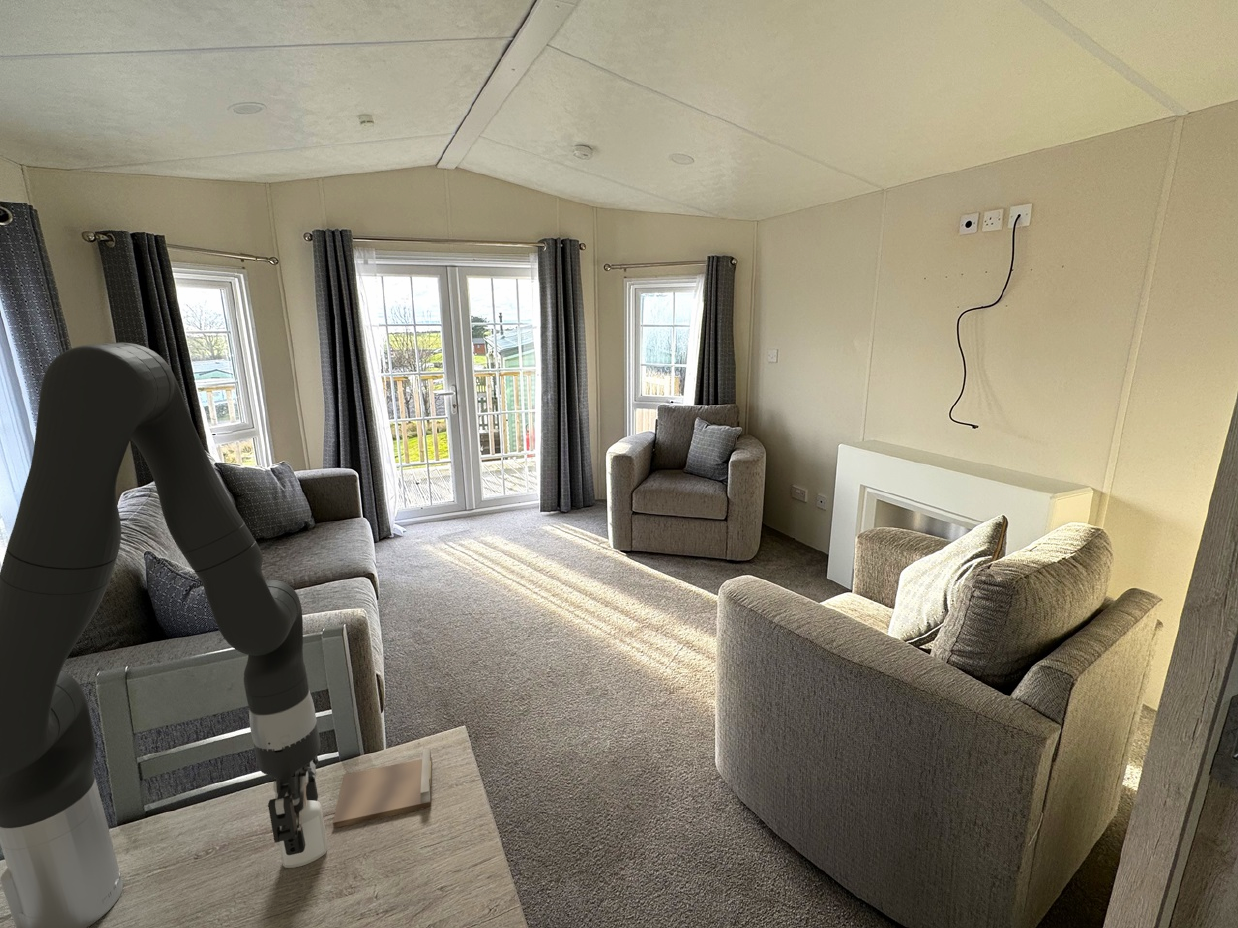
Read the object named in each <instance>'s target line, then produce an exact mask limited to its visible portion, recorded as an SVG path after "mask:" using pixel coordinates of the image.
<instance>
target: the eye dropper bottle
mask: <svg viewBox="0 0 1238 928" xmlns="http://www.w3.org/2000/svg"><path fill="white" fill-rule="evenodd" d="M293 801H294V805H297V804H298V803H299V798H298V799H295V800H293ZM323 815H324V814H323V809H322V805H321V802H320V801H319V800H317V801H314V800H307V798H306V807H305V808H304V809H303V810H302V829H303V834H304V840H305V849H304V851H303V852H302V853H298V854H293V855H287V854H286V850H285V845H284V841H280V842H278V845H279V846H278V847H279V851H280V856H281V861H282V865H283V867H284V868H286V869H293V868H300V867H302V866H305V865H308V864H311V863H313V862H315V861H316V860H318V859H320V858H321V857H323V856H324V855H325V854H326V853H327V850H328V840H327V834H326V827H325V822H324V816H323Z"/></svg>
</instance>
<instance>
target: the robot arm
mask: <svg viewBox="0 0 1238 928" xmlns="http://www.w3.org/2000/svg"><path fill="white" fill-rule="evenodd" d="M46 369H47V370H46V371H45V373H44V375H43V379H42V382H41V387H40V393H39V402H38V408H37V409H38V411H37V420H36V428H35V437H34V444H33V445H34V447H33V452H32V458H31V463H30V469H29V472H28V475H27V479H26V482H25V484H24V487H23V492H22V494H21V498H20V503H19V507H18V510H17V514H16V518H15V521H14V524H13V527H12V531H11V533H10V536H9V539H8V542H7V546H6V550H5V553H4V558H3V561H2V564H1V568H0V847H1V848H0V849H1V851H2V854H3V857H4V861H5V864H6V867H7V868H6V869H5V870H4V872H3V873H2V874H1V876H0V884H1V886H2V890H3V893H4V896H5V899H6V902H7V905H8V908H9V912H10V915H11V917H12V921H13V924H14V927H15V928H89V927H90V926H92V925H93V924H94V923H95V922H97V921H98V920H100V919H101V918H102V917H104V916H105V915H106V914H107V913H108V912H109V910H110V909H111V908H112V907H113V906H114V905H115V904H116V903H117V901H118V900H119V898H120V896H121V895H122V891H123V887H124V883H123V879H122V876H121V875H122V873H121V870H120V867H119V863H118V860H117V855H116V852H115V848H114V844H113V840H112V837H111V833H110V828H109V824H108V821H107V816H106V814H105V810H104V806H103V802H102V799H101V795H100V791H99V788H98V783H97V780H96V776H95V772H94V763H95V758H96V752H97V748H96V745H97V744H96V739H95V733H94V728H93V722H92V717H91V712H90V707H89V703H88V699H87V696H86V694H85V692H84V690H83V687H82V686H81V685H80V683H79V682H78V681H77V680H76V678H75V677H73V676H72V675H71V674H69V673H68V672H66V671H64V670H62V669H63V667H64V664H65V663H66V661H67V659H68V657H69V656H70V654H71V653H72V650H73V649H74V647H75V646H76V644H77V643H78V641H79V639H80V638H81V637H82V635H83V634H84V632H85V630H86V628H87V627H88V625H89V623H90V622H91V620H92V618H93V617H94V615H95V614H96V612H97V610H98V608H99V606H100V604H101V602H102V600H103V598H104V597H105V594H106V592H107V589H108V587H109V584H110V581H111V579H112V576H113V573H114V568H115V566H116V562H117V558H118V555H119V551H120V547H121V541H122V524H121V517H120V511H119V507H118V501H117V500H118V499H117V492H116V491H117V489H116V488H117V481H118V480H117V479H118V475H119V473H120V472H119V471H120V469H121V465H122V463H123V460H124V457H125V454H126V452H127V449H128V446H129V444H130V441H132V442H133V443H134V445H135V446H136V447H137V449H138V451H139V452H140V454H141V455H142V457H143V459H144V461H145V462H146V464H147V465H146V466H148V468H149V471H150V474H151V476H152V479H153V483H154V485H155V488H156V491H157V492H156V493H157V496H158V499H159V504H160V507H161V510H162V511H161V512H162V515H163V518H164V522H165V524H166V526H167V529H168V531H169V533H170V536H171V537H172V539H173V541H174V542H175V544H176V546H177V548H178V549H179V551H180V552H181V554H182V555H183V557H184V558H185V560H186V561H187V563H188V565H189V566H190V568H191V569H192V571H194V573H195V576H197V577H198V579H199V580H200V581H201V584H202V586H203V589H204V593H205V597H206V600H207V602H208V603H207V604H208V605H209V608H210V610H211V614H212V616H213V618H214V622H215V625H216V627H217V629H218V630H219V631H218V632H220V634H221V636H222V637H223V639H224V640H225V641H226V642H227V644H228V645H230V646H231V647H232V648H233V649H234V650H236V651H238V652H239V653H241V654H243V655H247V656H248V657H247V661H246V664H245V667H244V672H243V687H244V690H245V695H246V696H245V697H246V701H247V706H248V712H249V713H248V714H249V716H248V717H249V728H250V733H251V738H252V743H253V748H254V754H255V758H256V762H257V766H258V767H257V768H258V770H260V772H261V773H262V774H264V775H265V776H266V775H267V776H270V777H272V778H274V779H273V792H274V793H275V798H272V799H269V801H268V805H267V807H268V811H269V812H268V813H269V817H270V824H271V829H272V834H273V835H272V836H273V841H274V843H275V844H276V843H277V844H278V843H279V842H280V841H284V845H285V850H286V854H287V855H293V854H298V853H302V852H303V851H304V849H305V840H304V834H303V829H302V810H303V809H304V808H305V807H306V798H307V800H314V801H319V800H318V799H319V794H318V788H317V782H316V778H317V775H318V774H317V769H316V767H317V766H318V765H319V762H320V761H319V758H318V754H319V752H320V750H321V738H320V733H319V725H318V721H317V716H316V715H317V714H316V709H315V704H314V700H313V697H312V694H311V691H310V686H309V681H308V675H307V670H306V666H305V662H304V651H303V650H304V647H303V646H304V645H303V644H304V627H303V625H304V622H303V621H304V620H303V609H302V608H303V607H302V605H301V603H302V602H301V600H300V597H299V595H298V593H297V592H296V590H295V589H294V588H293V586H291V585H289V584H288V583H286V582H284V581H281V580H277V579H265V577H264V575H263V571H262V566H263V562H264V561H263V560H264V556H263V552H262V550H261V548H260V546H259V544H258V542H257V541H256V540H255V537H254V536H253V534H252V533H251V531H250V529H249V528H248V526H247V525H246V523H245V521H244V520H243V518H242V516H241V515H240V513H239V511H238V509H237V508H236V506H235V505H234V503H233V501H232V500H231V499H230V497H229V495H228V493H227V491H226V489H225V487H224V486H223V484H222V482H221V480H220V478H219V476H218V474H217V472H216V470H215V469H214V466H213V464H212V462H211V461H210V459H209V456H208V455H207V452H206V449H205V447H204V445H203V443H202V439H201V438H200V436H199V434H198V431H197V430H196V427H195V424H194V423H193V420H192V417H191V415H190V412H189V409H188V406H187V404H186V400H185V399H184V396H183V395H184V394H183V393H182V391H181V388H180V385H179V383H178V381H177V378H176V376H175V374H174V372H173V370H172V368H171V367H170V364H168V362H167V361H165V359H164V358H163V357H162V356H161V355H159V354H158V353H157V352H156V351H154V350H152V349H150V348H148V347H145V346H143V345H140V344H136V343H130V342H107V343H106V342H105V343H94V344H93V343H92V344H87V345H79V346H78V345H77V346H76V347H72V348H69V349H67V350H66V351H64V352H62V353H60V354H59V355H57V356H56V358H54V359H53V360H52V361H51V362H50V363H49V365H48V367H47V368H46ZM298 798H299V803H298V804H297V805H294V801H293V800H295V799H298Z"/></svg>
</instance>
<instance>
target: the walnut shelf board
mask: <svg viewBox="0 0 1238 928" xmlns="http://www.w3.org/2000/svg"><path fill="white" fill-rule="evenodd" d="M431 751H432V749H431V747H427V748H426V747H425V748H422V758H421V759H416V760H411V761H406V762H400V763H397V764H390V765H386V766H385V765H384V766H381V767H376V768H371V769H366V770H365V769H364V770H359V771H355V772H349V773H345V774H343V775H342V780H341V785H340V790H339V794H338V796H337V797H338V798H337V801H336V803H337V804H336V807H335V811H334V816H333V821H332V826H333V829H336V828H340V827H342V828H343V827H346V826H350V825H355V824H360V823H363V822H368V821H373V820H377V819H382V818H387V817H391V816H392V817H393V816H395V815H396V816H397V815H401V814H404V813H405V814H407V813H409V812H414V811H418V810H424V809H427V808H431V807H432V789H433V788H432V783H433V782H432V780H433V757H432V752H431Z"/></svg>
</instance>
